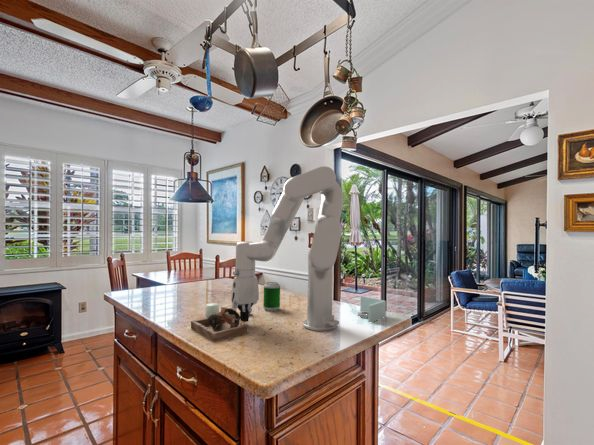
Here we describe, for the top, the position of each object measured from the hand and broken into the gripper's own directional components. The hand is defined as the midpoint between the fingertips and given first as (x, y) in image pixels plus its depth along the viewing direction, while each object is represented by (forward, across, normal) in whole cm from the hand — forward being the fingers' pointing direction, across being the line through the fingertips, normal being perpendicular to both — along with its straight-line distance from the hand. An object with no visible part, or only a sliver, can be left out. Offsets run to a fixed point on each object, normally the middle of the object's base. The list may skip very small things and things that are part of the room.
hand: (244, 320), depth 118 cm
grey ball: (+1, +8, +10) cm, 13 cm away
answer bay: (+1, -11, 0) cm, 11 cm away
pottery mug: (+2, -9, 0) cm, 9 cm away
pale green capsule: (+1, -7, +13) cm, 15 cm away
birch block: (+1, 0, +12) cm, 12 cm away
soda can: (+2, +21, +10) cm, 23 cm away
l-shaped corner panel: (+2, +45, -25) cm, 51 cm away
